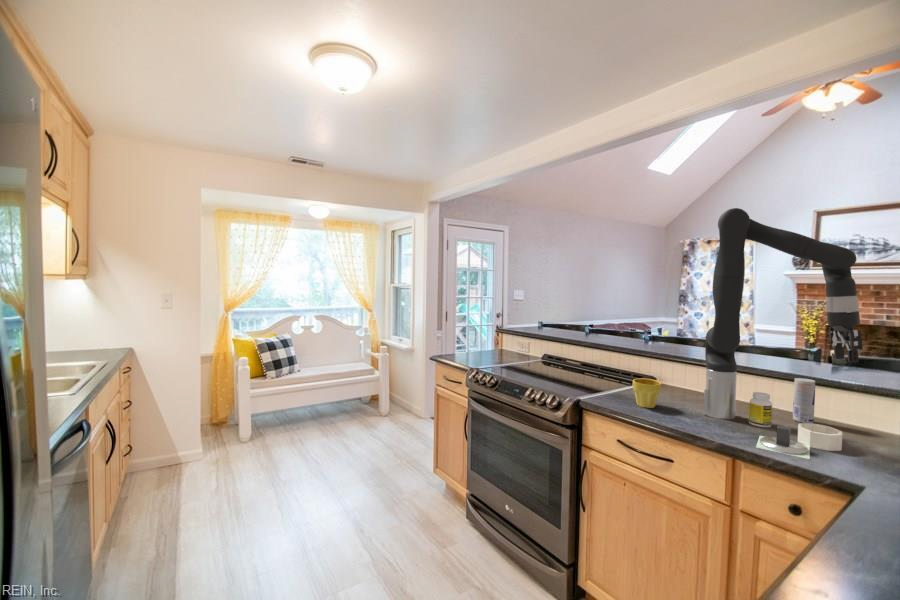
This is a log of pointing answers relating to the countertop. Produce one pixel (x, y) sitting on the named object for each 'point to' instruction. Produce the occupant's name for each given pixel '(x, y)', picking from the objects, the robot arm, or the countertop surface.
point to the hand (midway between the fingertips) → (846, 360)
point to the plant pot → (646, 392)
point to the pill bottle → (760, 410)
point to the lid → (783, 442)
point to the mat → (806, 456)
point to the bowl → (820, 436)
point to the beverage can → (804, 400)
